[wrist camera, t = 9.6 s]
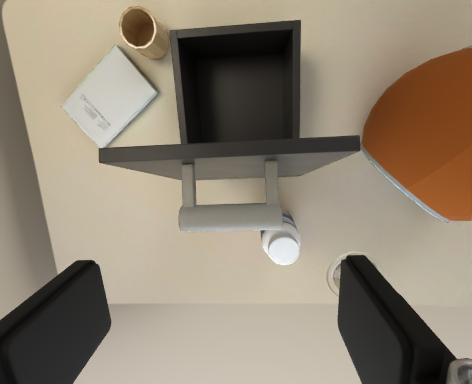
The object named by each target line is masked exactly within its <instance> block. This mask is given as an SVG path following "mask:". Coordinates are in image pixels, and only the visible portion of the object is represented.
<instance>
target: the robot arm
mask: <svg viewBox="0 0 472 384" xmlns="http://www.w3.org/2000/svg"><path fill="white" fill-rule="evenodd" d="M110 327H111V318H110V313H109V308H108V304H107V299H106V294H105V290H104V285H103V280H102V276H101V271H100V267H99V265H98V264H96V263H95V261H93V260H78V261H76V262H74V263H73V264H71V265H70V266H69V267H68V268H66V269H65V270H64V271H63V272H61V273H60V274H59V275H57V276H56V277H55V278H54V279H52V280H51V281H50V282H48V283H47V284H46V285H45V286H43V287H42V288H41V289H40V290H38V291H37V292H36V293H34V294H33V295H32V296H31V297H29V298H28V299H27V300H25V301H24V302H23V303H22V304H20V305H19V306H18V307H16V308H15V309H14V310H13V311H11V312H10V313H9V314H8V315H6V316H5V317H4V318H2V319H1V320H0V384H73V382H74V381H75V380H76V378H77V377H78V375H79V374H80V372H81V371H82V369H83V368H84V366H85V365H86V364H87V362H88V361H89V359H90V357H91V356H92V355H93V353H94V352H95V350H96V349H97V347H98V346H99V345H100V343H101V342H102V340H103V339H104V337H105V336H106V334H107V333H108V331H109V330H110ZM338 327H339V331H340V333H341V336H342V338H343V340H344V343H345V345H346V347H347V350H348V352H349V354H350V357H351V359H352V361H353V364H354V366H355V368H356V371H357V373H358V375H359V377H360V380H361V382H362V384H472V359H468V358H464V359H457V358H456V357H455V356H454V355H453V354H452V353H451V352H450V351H449V349H448V348H447V347H446V346H445V345H444V344H443V343H442V342H441V340H440V339H439V338H438V337H437V336H436V335H435V333H434V332H433V331H432V330H431V329H430V328H429V327H428V326H427V324H426V323H425V322H424V321H423V320H422V319H421V318H420V316H419V315H418V314H417V313H416V312H415V311H414V310H413V308H411V306H410V305H409V304H408V303H407V302H406V300H405V299H404V298H403V297H402V296H401V295H400V294H399V293H397V292H396V291H395V289H394V288H393V287H392V286H391V285H390V284H389V283H388V281H387V280H386V279H385V278H384V277H383V276H382V275H381V273H380V272H379V271H378V270H377V269H376V268H375V267H374V265H373V264H372V263H371V262H370V261H369V260H368V258H367V257H366V256H364V255H348V256H347V257H346V259H344V260H342V261H341V275H340V290H339V306H338Z"/></svg>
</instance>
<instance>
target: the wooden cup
mask: <svg viewBox="0 0 472 384" xmlns="http://www.w3.org/2000/svg"><path fill="white" fill-rule="evenodd" d="M119 28H120V35H121V37H122V38H123V40H124V41H125V42H126V44H127V45H129V46H130V47H132V48H133V49H135V50H136V51H138V52H139V53H141V54H142V55H144V56H146V57H148V58H150V59H158V58H160V57H162V56H163V55H164V54H165V53H166V52H167V50H168V46H169V38H168V34H167V32H166V30H165V29H164V28H163V26H162V25H161V24H160V23H159V22H158V20H157V19H156V18H155V17H154V16H153V15H152V14H151V12H150V11H148V10H146V9H145V8H143V7H141V6H134V7H129V8H128V9H127V10H126V11H124V12H123V13H122V16H121V19H120V22H119Z"/></svg>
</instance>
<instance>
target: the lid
mask: <svg viewBox="0 0 472 384" xmlns="http://www.w3.org/2000/svg"><path fill="white" fill-rule="evenodd" d="M359 151H360V136H359V135H356V136H336V137H316V138H295V139H275V140H255V141H235V142H214V143H194V144H174V145H154V146H134V147H113V148H99V163H103V164H107V165H112V166H117V167H121V168H126V169H131V170H136V171H140V172H145V173H150V174H154V175H159V176H164V177H169V178H173V179H178V180H182V198H183V206H181V208H180V210H179V227H180V230H181V231H182V232H208V231H249V230H281V229H282V226H283V214H282V206H281V203H279V196H278V177H292V176H301V175H304V174H306V173H308V172H311V171H313V170H316V169H318V168H320V167H323V166H325V165H328V164H330V163H332V162H335V161H337V160H340V159H342V158H344V157H347V156H349V155H352V154H354V153H356V152H359ZM241 178H265V184H266V203H251V204H220V205H196V181H195V180H215V179H241Z"/></svg>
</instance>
